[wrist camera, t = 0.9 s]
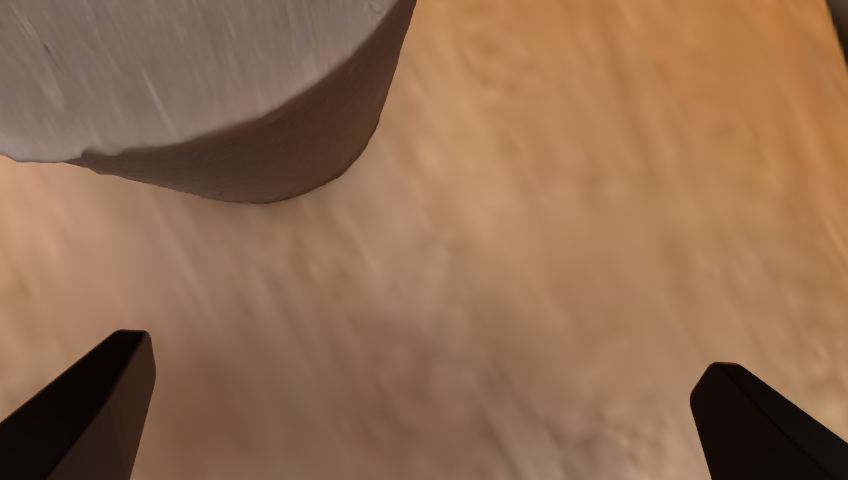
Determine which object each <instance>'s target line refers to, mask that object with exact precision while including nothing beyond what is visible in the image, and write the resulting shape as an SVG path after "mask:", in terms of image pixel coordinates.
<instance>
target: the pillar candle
mask: <svg viewBox="0 0 848 480" xmlns="http://www.w3.org/2000/svg"><path fill="white" fill-rule="evenodd" d="M416 1H417V0H0V155H5V156H7V157H9V158H10V159H12V160H14V161H16V162H40V163H58V162H65V163H68V164H73V165H77V166H81V167H85V168H89V169H91V170H92V171H94V172H96V173H98V174H107V175H116V176H120V177H123V178H126V179H130V180H134V181H139V182H143V183H149V184H153V185H157V186H161V187H165V188H170V189H173V190H177V191H181V192H185V193H191V194H194V195H199V196H201V197H204V198H209V199H214V200H222V201H225V202H239V203H244V202H247V203H253V204H266V203H270V202H275V201H281V200H285V199H289V198H292V197H296V196H299V195H301V194H305V193H306V192H308V191H310V190H312V189H314V188H316V187H319V186H321V185H324V184H326V183H327V182H329V181H331V180H333V179H335V178H338V177H340V176H341V175H342V174H343V173H344V172H346V170H347V169H348V168H349V167H350V166H351V165H352V164H353V162H354V161H355V160H356V159H357V158H358V157H359V156H360V155H361V153H362V152H363V150H364V149H365V148H366V146H367V144H368V141H369V140H370V138H371V136H372V135H373V133H374V132H375V130H376V127H377V124H378V121H379V117H380V114H381V112H382V109H383V106H384V103H385V101H386V98H387V94H388V90H389V88H390V85H391V82H392V79H393V76H394V72H395V70H396V66H397V63H398V59H399V55H400V50H401V47H402V44H403V41H404V38H405V35H406V33H407V30H408V27H409V25H410V21H411V18H412V14H413V10H414V7H415V5H416Z"/></svg>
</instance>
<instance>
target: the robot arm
mask: <svg viewBox="0 0 848 480" xmlns="http://www.w3.org/2000/svg"><path fill="white" fill-rule="evenodd" d="M155 379H156V367H155V361H154V354H153V348H152V342H151V337H150V335H149V333H148V332H146V331H143V330H125V329H121V330H117V331H115V332H113V333H112V334H111V335H109V336H108V337H107V338H106V339H104V340H103V341H102V342H101V343H99V344H98V345H97V346H96V347H94V348H93V349H92V350H91V351H89V352H88V353H87V354H86V355H84V356H83V357H82V358H81V359H79V360H78V361H77V362H76V363H74V364H73V365H72V366H71V367H69V368H68V369H67V370H66V371H64V372H63V373H62V374H61V375H59V376H58V377H57V378H56V379H54V380H53V381H52V382H51V383H49V384H48V385H47V386H46V387H44V388H43V389H42V390H41V391H39V392H38V393H37V394H36V395H34V396H33V397H32V398H31V399H29V400H28V401H27V402H26V403H24V404H23V405H22V406H21V407H19V408H18V409H17V410H16V411H14V412H13V413H12V414H11V415H9V416H8V417H7V418H5V419H4V420H3V421H2V422H0V480H130V476H131V473H132V469H133V465H134V462H135V458H136V454H137V450H138V446H139V442H140V439H141V435H142V431H143V427H144V423H145V419H146V415H147V412H148V408H149V404H150V400H151V396H152V392H153V388H154V384H155ZM690 407H691V411H692V414H693V417H694V421H695V424H696V428H697V431H698V434H699V438H700V441H701V445H702V448H703V451H704V455H705V458H706V462H707V465H708V469H709V472H710V475H711V479H712V480H848V443H847V442H845V441H844V440H842V439H841V438H840V437H838V436H837V435H836V434H834V433H833V432H832V431H830V430H829V429H827V428H826V427H825V426H823V425H822V424H821V423H819V422H818V421H816V420H815V419H814V418H812V417H811V416H810V415H808V414H807V413H806V412H804V411H803V410H801V409H800V408H799V407H797V406H796V405H795V404H793V403H792V402H791V401H789V400H788V399H786V398H785V397H784V396H782V395H781V394H780V393H778V392H777V391H775V390H774V389H773V388H771V387H770V386H769V385H767V384H766V383H765V382H763V381H762V380H760V379H759V378H758V377H756V376H755V375H754V374H752V373H751V372H750V371H748V370H747V369H745V368H744V367H743V366H741V365H739V364H737V363H729V362H714V363H712V364H710V365H709V366H708V368H707V369H706V371H705V372H704V374H703V375H702V377H701V378H700V380H699V381H698V383H697V384H696V386H695V387H694V389H693V390H692V392H691V395H690Z"/></svg>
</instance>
